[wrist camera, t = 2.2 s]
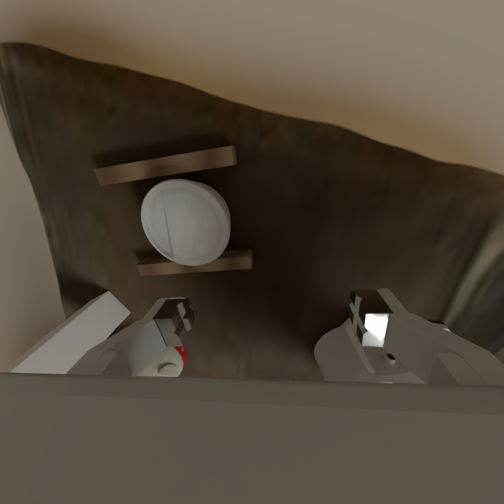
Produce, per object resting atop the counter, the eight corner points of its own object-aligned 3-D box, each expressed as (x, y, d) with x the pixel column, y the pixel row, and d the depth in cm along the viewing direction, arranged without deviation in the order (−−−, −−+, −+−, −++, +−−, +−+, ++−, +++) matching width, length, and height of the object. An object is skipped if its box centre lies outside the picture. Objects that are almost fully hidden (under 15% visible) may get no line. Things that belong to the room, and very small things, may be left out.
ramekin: (146, 200, 29) (121, 210, 24) (206, 157, 26) (190, 158, 21) (193, 260, 33) (179, 278, 28) (250, 230, 29) (245, 244, 25)
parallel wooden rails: (235, 146, 25) (231, 145, 22) (253, 260, 31) (251, 268, 29) (108, 167, 28) (93, 169, 25) (150, 267, 34) (141, 275, 32)
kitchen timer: (140, 370, 49) (88, 452, 35) (115, 328, 43) (42, 408, 29) (193, 371, 46) (159, 459, 33) (175, 327, 40) (124, 413, 27)
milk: (108, 289, 38) (-73, 437, 18) (131, 312, 40) (-10, 466, 20) (89, 301, 40) (-94, 445, 20) (112, 321, 42) (-35, 471, 22)
